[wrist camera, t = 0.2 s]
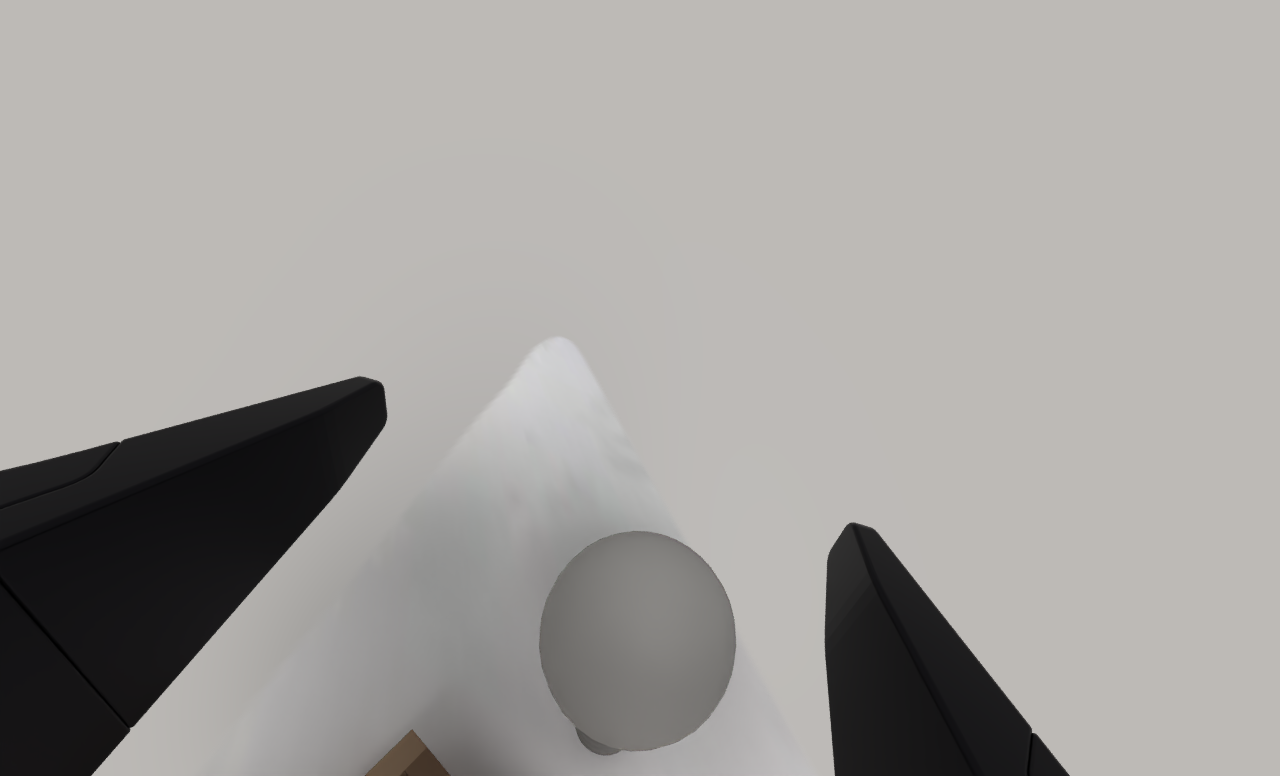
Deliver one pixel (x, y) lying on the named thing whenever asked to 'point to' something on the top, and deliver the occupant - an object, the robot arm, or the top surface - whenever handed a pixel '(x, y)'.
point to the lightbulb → (637, 642)
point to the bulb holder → (409, 760)
